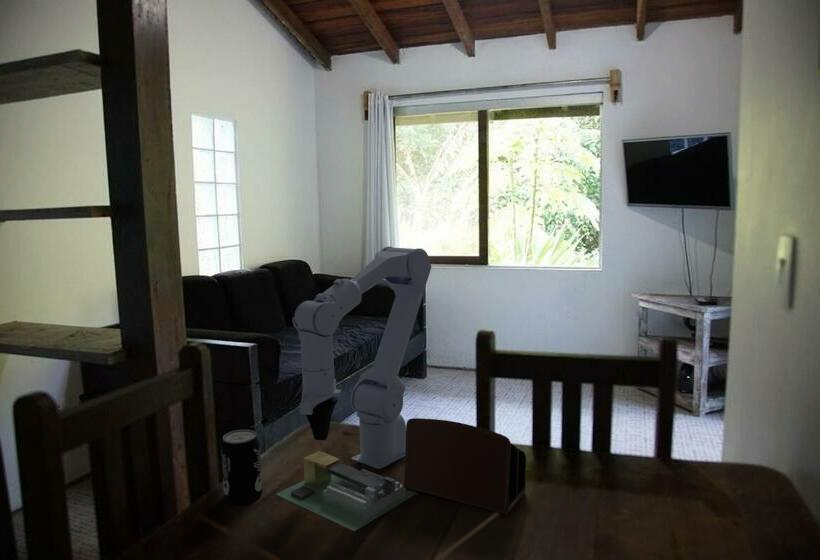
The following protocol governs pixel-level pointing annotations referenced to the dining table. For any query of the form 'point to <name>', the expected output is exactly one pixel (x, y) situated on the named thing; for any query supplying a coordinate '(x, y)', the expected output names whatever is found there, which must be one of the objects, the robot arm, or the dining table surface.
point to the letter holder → (463, 464)
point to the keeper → (318, 468)
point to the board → (314, 502)
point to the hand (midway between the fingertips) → (321, 438)
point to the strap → (357, 477)
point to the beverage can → (241, 467)
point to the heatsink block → (363, 497)
